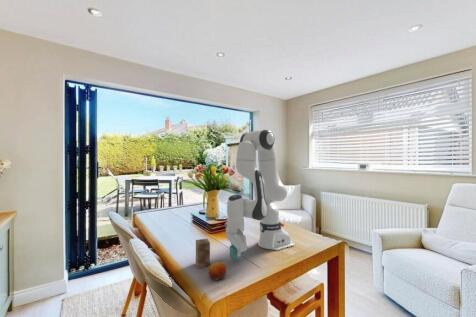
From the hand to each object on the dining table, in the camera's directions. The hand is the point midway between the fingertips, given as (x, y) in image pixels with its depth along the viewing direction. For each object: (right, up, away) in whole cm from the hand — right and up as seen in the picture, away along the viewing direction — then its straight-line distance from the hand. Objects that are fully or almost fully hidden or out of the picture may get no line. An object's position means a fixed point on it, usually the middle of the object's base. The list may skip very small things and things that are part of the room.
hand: (236, 253), depth 119 cm
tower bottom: (-17, -4, -3) cm, 18 cm away
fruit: (-8, -5, -15) cm, 18 cm away
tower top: (-17, +2, -3) cm, 17 cm away
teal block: (0, -2, 0) cm, 2 cm away
